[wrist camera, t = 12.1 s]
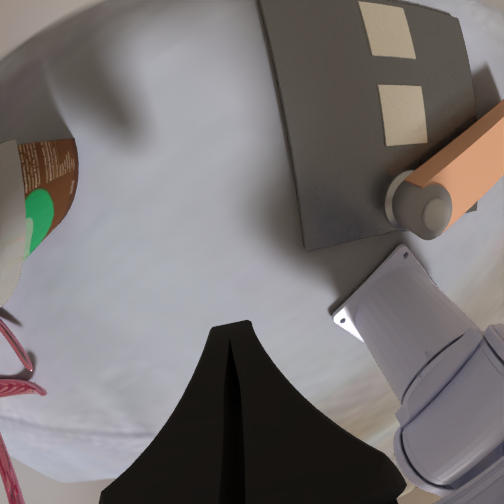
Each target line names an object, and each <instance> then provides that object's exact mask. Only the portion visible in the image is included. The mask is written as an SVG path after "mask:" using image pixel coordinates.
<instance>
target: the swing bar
mask: <svg viewBox="0 0 504 504" xmlns="http://www.w3.org/2000/svg"><path fill="white" fill-rule="evenodd" d="M503 175H504V99H503V100H502V101H501V102H500V103H499V104H497V105H496V106H495V107H494V108H493V109H491V110H490V111H489V112H488V113H487V114H485V115H484V116H483V117H482V118H481V119H479V120H478V121H477V122H476V123H474V124H473V125H472V126H471V127H469V128H468V129H467V130H466V131H465V132H463V133H462V134H461V135H460V136H458V137H457V138H456V139H455V140H453V141H452V142H451V143H450V144H448V145H447V146H446V147H444V148H443V149H442V150H441V151H439V152H438V153H437V154H436V155H434V156H433V157H432V158H430V159H429V160H428V161H427V162H425V163H424V164H423V165H421V166H420V167H419V168H418V169H416V170H415V171H414V172H412V173H411V174H410V175H408V176H407V177H406V178H404V181H403V182H401V183H400V185H399V186H398V187H397V189H396V191H395V193H394V196H393V200H392V212H393V215H394V218H395V219H396V221H397V222H398V223H399V224H400V225H402V226H403V227H405V228H407V229H408V230H410V231H411V232H413V233H414V234H415V235H417V236H418V237H420V238H422V239H424V240H431V239H434V238H436V237H438V236H440V235H441V234H442V233H443V232H444V231H445V230H446V229H448V228H449V227H450V226H451V225H452V224H453V223H454V222H455V221H456V220H458V219H459V218H460V217H461V216H462V215H463V214H464V213H465V212H466V211H467V210H468V209H469V208H471V207H472V206H473V205H474V204H475V203H476V202H477V201H478V200H479V199H480V198H481V197H482V196H483V195H484V194H485V193H486V192H487V191H488V190H489V189H490V188H491V187H492V186H493V185H494V184H495V183H496V182H497V181H498V180H499V179H500V178H501V177H502V176H503Z"/></svg>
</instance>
